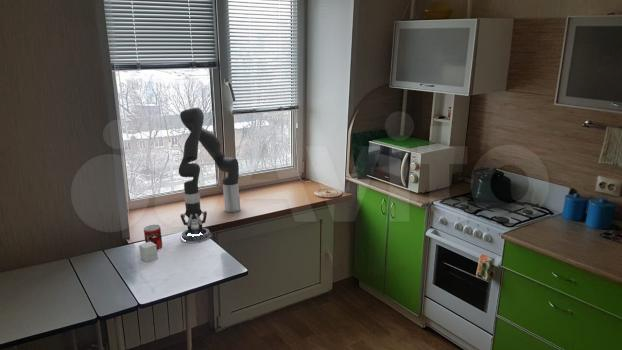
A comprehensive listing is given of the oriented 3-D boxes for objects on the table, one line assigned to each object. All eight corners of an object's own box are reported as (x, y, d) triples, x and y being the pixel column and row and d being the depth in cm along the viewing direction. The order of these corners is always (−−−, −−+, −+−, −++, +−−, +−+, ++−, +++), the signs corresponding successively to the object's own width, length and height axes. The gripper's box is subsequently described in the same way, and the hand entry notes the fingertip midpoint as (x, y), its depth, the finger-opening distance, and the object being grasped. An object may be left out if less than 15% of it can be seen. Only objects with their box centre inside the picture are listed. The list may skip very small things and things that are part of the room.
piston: (199, 230, 250) (198, 218, 248) (200, 233, 246) (199, 221, 244) (190, 231, 249) (189, 219, 247) (191, 235, 244) (189, 222, 243)
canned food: (143, 249, 233) (140, 229, 231) (153, 243, 241) (150, 223, 238) (155, 251, 231) (153, 231, 228) (165, 245, 238) (163, 225, 235)
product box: (158, 258, 223) (156, 244, 221) (146, 262, 219) (144, 248, 217) (152, 255, 227) (150, 241, 225) (140, 259, 223) (138, 244, 221)
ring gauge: (210, 229, 257) (209, 225, 257) (212, 240, 243) (212, 235, 242) (180, 233, 253) (179, 229, 252) (180, 244, 238) (180, 240, 238)
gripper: (205, 197, 248) (208, 227, 252) (178, 200, 244) (181, 230, 249) (206, 201, 241) (209, 232, 245) (178, 204, 237) (181, 235, 242)
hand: (195, 231), depth 247 cm, fingers closed on piston, 4 cm apart
